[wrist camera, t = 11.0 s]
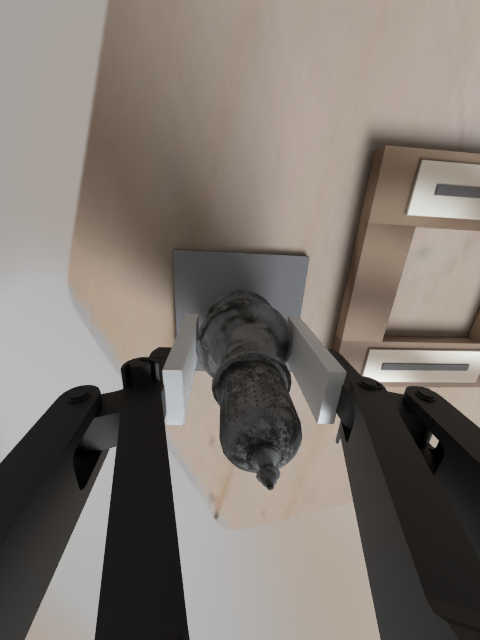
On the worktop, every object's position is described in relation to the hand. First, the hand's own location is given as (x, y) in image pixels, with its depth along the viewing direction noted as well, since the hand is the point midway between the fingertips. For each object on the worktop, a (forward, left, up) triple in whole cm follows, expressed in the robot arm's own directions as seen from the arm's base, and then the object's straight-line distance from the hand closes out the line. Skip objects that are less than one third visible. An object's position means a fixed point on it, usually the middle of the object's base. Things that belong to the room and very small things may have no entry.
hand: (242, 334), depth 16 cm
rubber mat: (0, 0, -4) cm, 4 cm away
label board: (-3, +16, -4) cm, 17 cm away
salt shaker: (0, 0, -2) cm, 2 cm away
